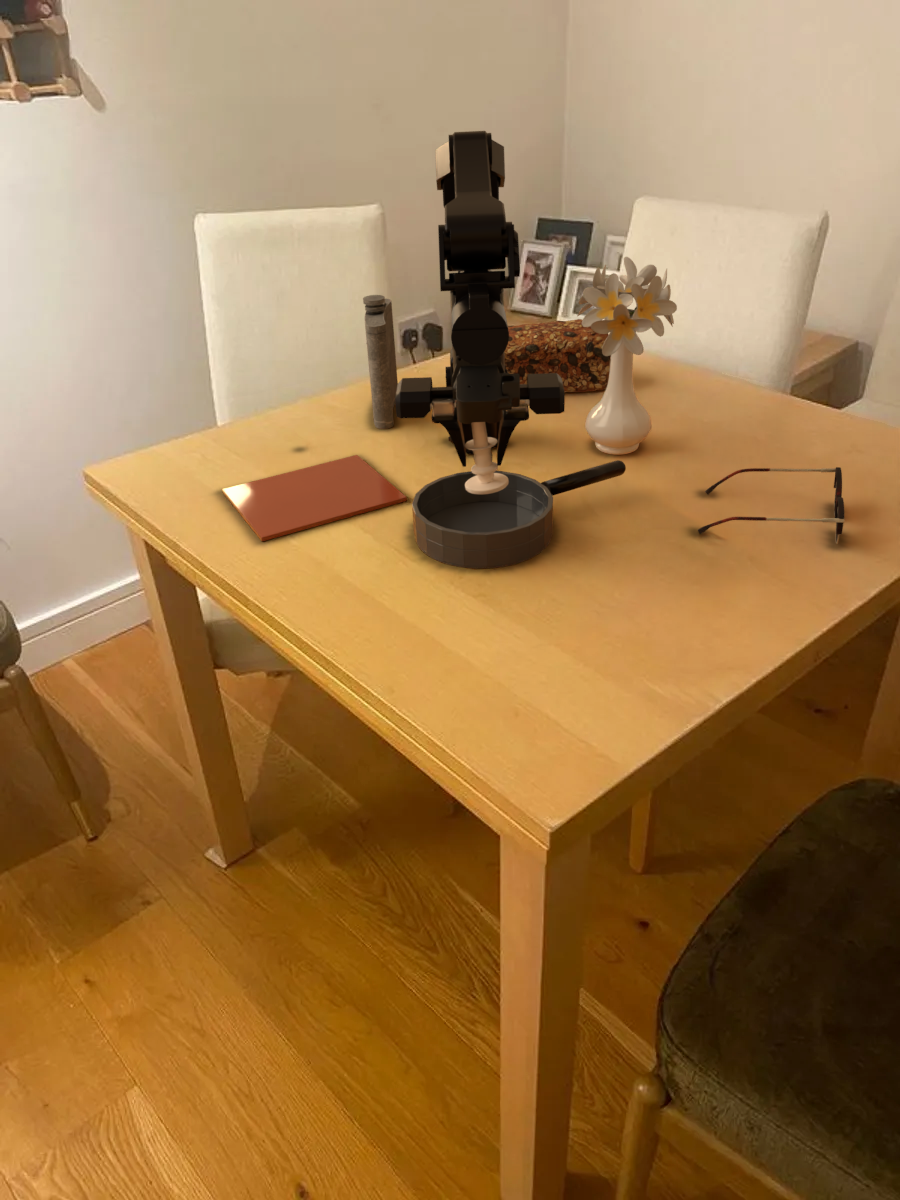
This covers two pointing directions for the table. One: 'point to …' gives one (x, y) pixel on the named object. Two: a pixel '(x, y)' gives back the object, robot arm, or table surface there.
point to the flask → (381, 358)
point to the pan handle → (585, 477)
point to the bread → (559, 354)
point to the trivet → (311, 497)
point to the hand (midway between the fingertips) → (481, 464)
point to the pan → (482, 521)
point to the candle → (483, 463)
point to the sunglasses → (837, 513)
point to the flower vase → (623, 350)
